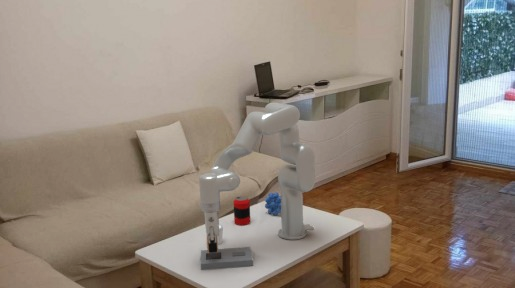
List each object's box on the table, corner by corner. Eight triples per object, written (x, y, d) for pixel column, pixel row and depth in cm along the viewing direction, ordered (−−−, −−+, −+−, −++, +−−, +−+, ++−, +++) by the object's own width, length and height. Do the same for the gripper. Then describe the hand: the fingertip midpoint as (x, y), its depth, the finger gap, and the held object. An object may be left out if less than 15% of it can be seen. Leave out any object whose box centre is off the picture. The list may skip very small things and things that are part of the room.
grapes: (289, 215, 243) (289, 191, 241) (281, 219, 238) (280, 195, 236) (270, 210, 251) (270, 187, 248) (262, 214, 246) (261, 191, 243)
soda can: (241, 218, 241) (239, 194, 239) (253, 221, 237) (252, 197, 234) (231, 223, 235) (230, 199, 233) (243, 226, 231) (242, 202, 228)
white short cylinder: (226, 239, 218) (225, 224, 216) (219, 246, 211) (218, 230, 210) (211, 238, 220) (210, 223, 218) (205, 244, 214) (204, 229, 212)
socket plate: (250, 252, 204) (250, 246, 204) (252, 265, 193) (252, 259, 192) (201, 256, 203) (201, 250, 202) (201, 269, 191) (200, 263, 190)
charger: (217, 247, 198) (216, 228, 196) (217, 252, 194) (216, 232, 192) (207, 248, 198) (206, 229, 196) (207, 252, 194) (206, 233, 192)
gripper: (220, 212, 184) (223, 258, 188) (219, 197, 200) (221, 240, 204) (200, 213, 183) (203, 259, 187) (201, 199, 200) (203, 241, 204)
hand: (212, 249), depth 196 cm, fingers closed on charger, 4 cm apart
